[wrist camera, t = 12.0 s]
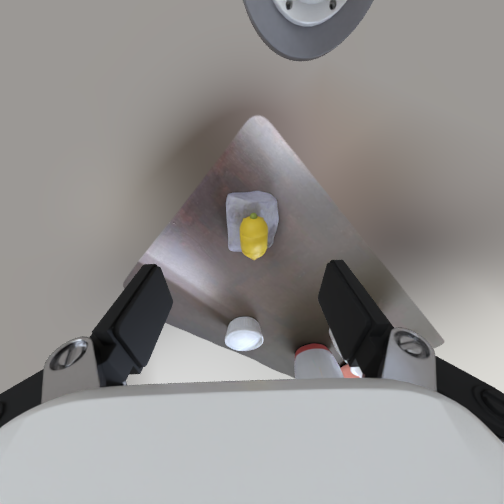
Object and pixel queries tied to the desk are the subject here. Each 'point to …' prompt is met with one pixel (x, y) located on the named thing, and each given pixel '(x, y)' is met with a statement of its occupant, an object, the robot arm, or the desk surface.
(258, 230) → the lemon
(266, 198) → the stone block
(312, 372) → the citrus juicer
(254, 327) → the ramekin
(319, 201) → the desk surface
